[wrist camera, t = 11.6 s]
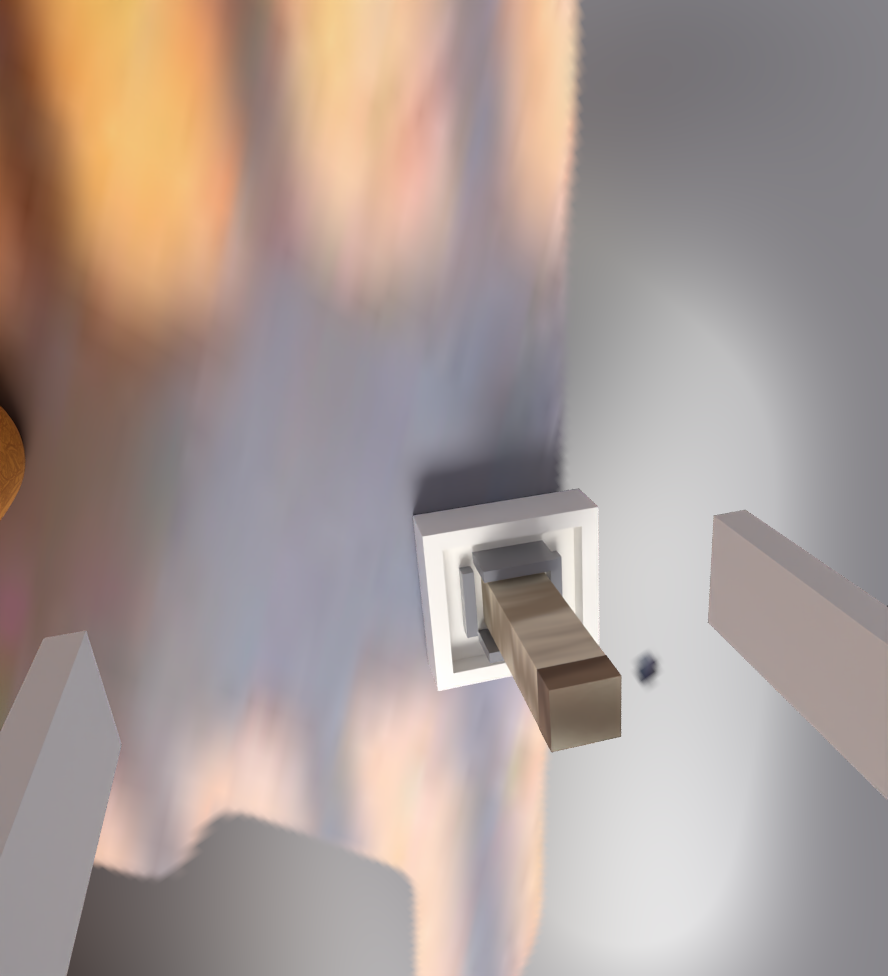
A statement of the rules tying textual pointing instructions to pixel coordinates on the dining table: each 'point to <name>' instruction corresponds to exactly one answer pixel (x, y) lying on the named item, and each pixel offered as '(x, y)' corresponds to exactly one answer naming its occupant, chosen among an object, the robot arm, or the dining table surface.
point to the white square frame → (500, 573)
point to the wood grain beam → (553, 661)
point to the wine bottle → (10, 461)
